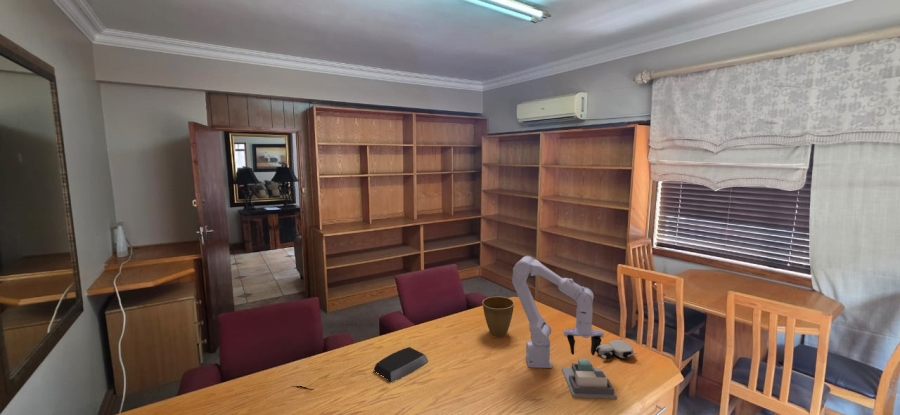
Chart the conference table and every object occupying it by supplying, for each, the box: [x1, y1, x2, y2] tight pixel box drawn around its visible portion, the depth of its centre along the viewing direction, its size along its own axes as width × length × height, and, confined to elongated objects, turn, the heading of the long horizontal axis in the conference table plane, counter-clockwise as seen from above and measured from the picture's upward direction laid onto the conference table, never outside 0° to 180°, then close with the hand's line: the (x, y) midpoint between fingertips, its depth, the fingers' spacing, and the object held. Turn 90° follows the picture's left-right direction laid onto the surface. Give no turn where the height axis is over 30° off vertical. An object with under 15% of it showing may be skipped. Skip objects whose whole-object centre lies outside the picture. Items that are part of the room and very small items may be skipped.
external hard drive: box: [373, 346, 429, 383], centre depth 149 cm, size 13×19×4 cm
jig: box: [561, 362, 618, 400], centre depth 136 cm, size 15×17×3 cm
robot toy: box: [595, 338, 638, 360], centre depth 156 cm, size 12×4×15 cm
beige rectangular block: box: [575, 370, 608, 388], centre depth 132 cm, size 10×4×5 cm, turn 86°
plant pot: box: [482, 296, 515, 339], centre depth 174 cm, size 15×15×16 cm
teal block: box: [577, 358, 593, 371], centre depth 140 cm, size 4×4×5 cm
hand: (582, 353), depth 142 cm, fingers open, 7 cm apart
